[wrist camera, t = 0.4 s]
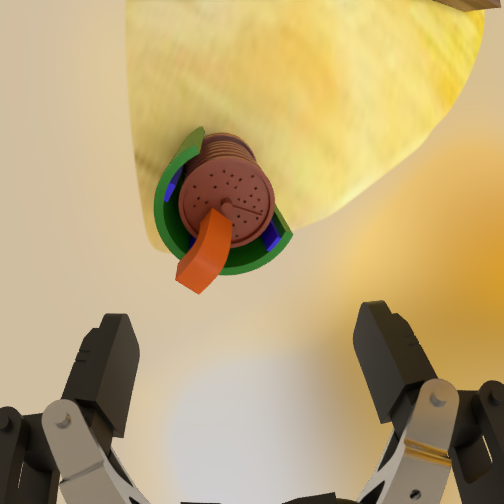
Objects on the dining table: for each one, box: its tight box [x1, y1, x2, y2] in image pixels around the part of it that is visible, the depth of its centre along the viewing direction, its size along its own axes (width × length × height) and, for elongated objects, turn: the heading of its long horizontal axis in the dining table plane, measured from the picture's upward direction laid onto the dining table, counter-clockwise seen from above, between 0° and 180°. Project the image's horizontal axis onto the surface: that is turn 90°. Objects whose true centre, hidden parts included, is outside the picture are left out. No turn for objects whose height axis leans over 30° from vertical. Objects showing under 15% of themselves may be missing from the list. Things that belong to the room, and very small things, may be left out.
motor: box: [154, 127, 293, 294], centre depth 27 cm, size 10×9×20 cm
